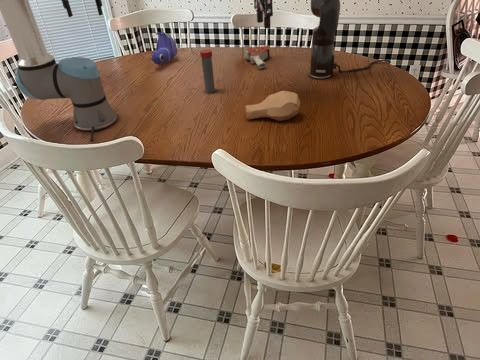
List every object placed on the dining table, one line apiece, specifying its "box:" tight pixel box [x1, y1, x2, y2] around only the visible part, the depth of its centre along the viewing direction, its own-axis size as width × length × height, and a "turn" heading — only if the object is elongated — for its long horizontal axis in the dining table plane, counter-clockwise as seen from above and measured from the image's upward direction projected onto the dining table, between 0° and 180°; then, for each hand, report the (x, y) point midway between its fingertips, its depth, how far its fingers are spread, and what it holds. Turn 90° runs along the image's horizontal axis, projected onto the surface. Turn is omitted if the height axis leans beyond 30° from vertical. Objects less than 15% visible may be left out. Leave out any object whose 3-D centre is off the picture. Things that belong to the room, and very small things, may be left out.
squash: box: [244, 90, 301, 122], centre depth 127 cm, size 11×20×9 cm, turn 92°
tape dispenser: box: [243, 45, 270, 70], centre depth 179 cm, size 18×5×20 cm
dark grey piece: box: [200, 56, 216, 94], centre depth 148 cm, size 4×4×16 cm
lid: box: [199, 48, 213, 58], centre depth 143 cm, size 5×5×2 cm
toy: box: [150, 31, 178, 69], centre depth 181 cm, size 10×17×25 cm
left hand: (85, 15), depth 157 cm, fingers open, 13 cm apart
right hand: (263, 25), depth 133 cm, fingers open, 8 cm apart
